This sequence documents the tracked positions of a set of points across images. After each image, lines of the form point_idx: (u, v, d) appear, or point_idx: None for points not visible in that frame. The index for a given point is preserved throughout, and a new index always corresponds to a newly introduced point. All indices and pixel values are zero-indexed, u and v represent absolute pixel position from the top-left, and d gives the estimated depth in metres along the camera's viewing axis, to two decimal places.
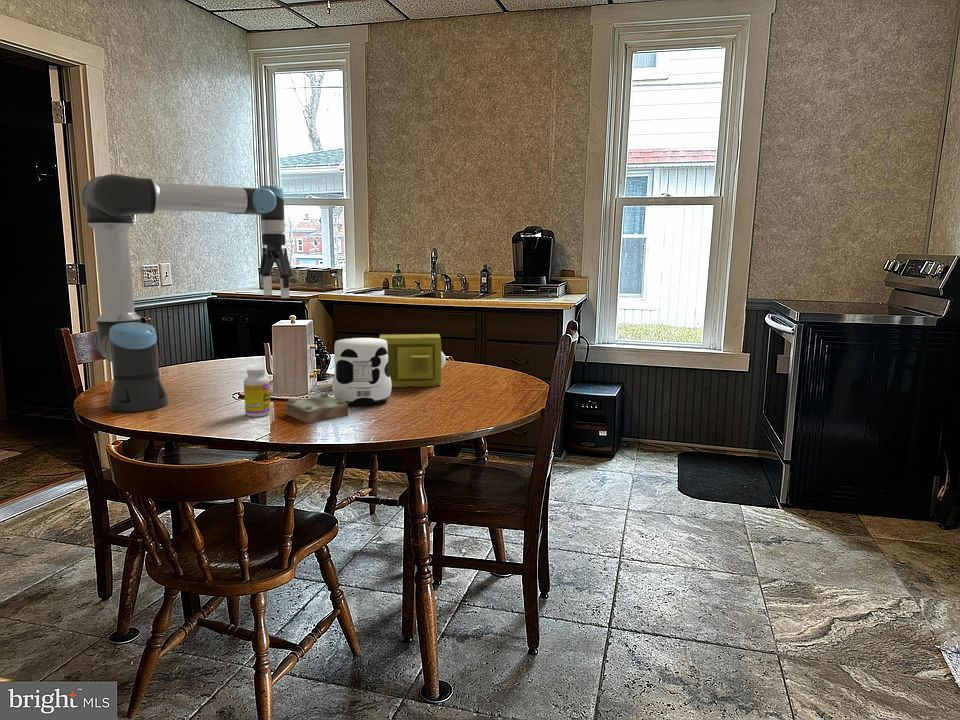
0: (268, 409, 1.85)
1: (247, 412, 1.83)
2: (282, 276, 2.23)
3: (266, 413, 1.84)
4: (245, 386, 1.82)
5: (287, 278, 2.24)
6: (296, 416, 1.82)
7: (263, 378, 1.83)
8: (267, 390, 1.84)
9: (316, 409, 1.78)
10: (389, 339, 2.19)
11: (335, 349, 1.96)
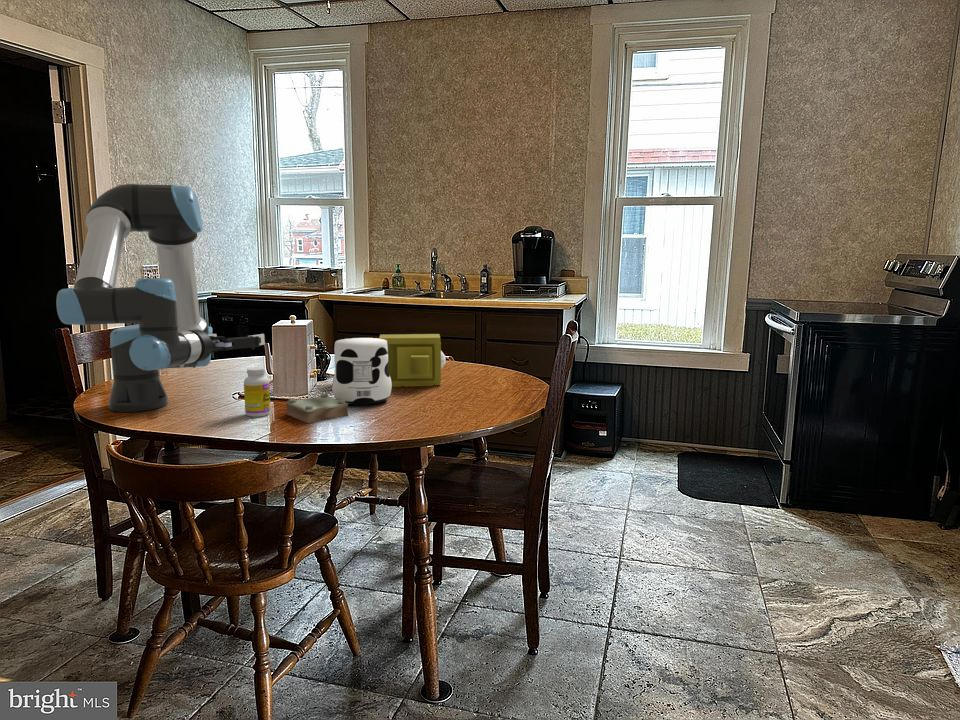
0: (268, 409, 1.85)
1: (247, 412, 1.83)
2: None
3: (266, 413, 1.84)
4: (245, 386, 1.82)
5: None
6: (296, 416, 1.82)
7: (263, 378, 1.83)
8: (267, 390, 1.84)
9: (316, 409, 1.78)
10: (389, 339, 2.19)
11: (335, 349, 1.96)
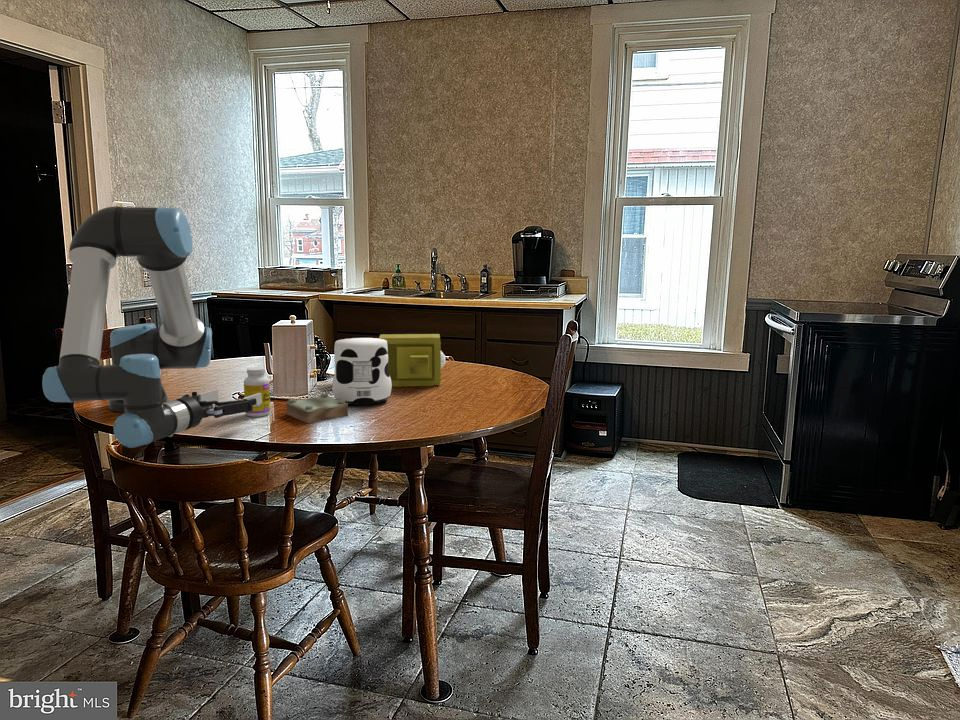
0: (268, 409, 1.85)
1: None
2: None
3: (266, 413, 1.84)
4: (245, 386, 1.82)
5: None
6: (296, 416, 1.82)
7: (263, 378, 1.83)
8: (267, 390, 1.84)
9: (316, 409, 1.78)
10: (388, 339, 2.20)
11: (335, 349, 1.96)
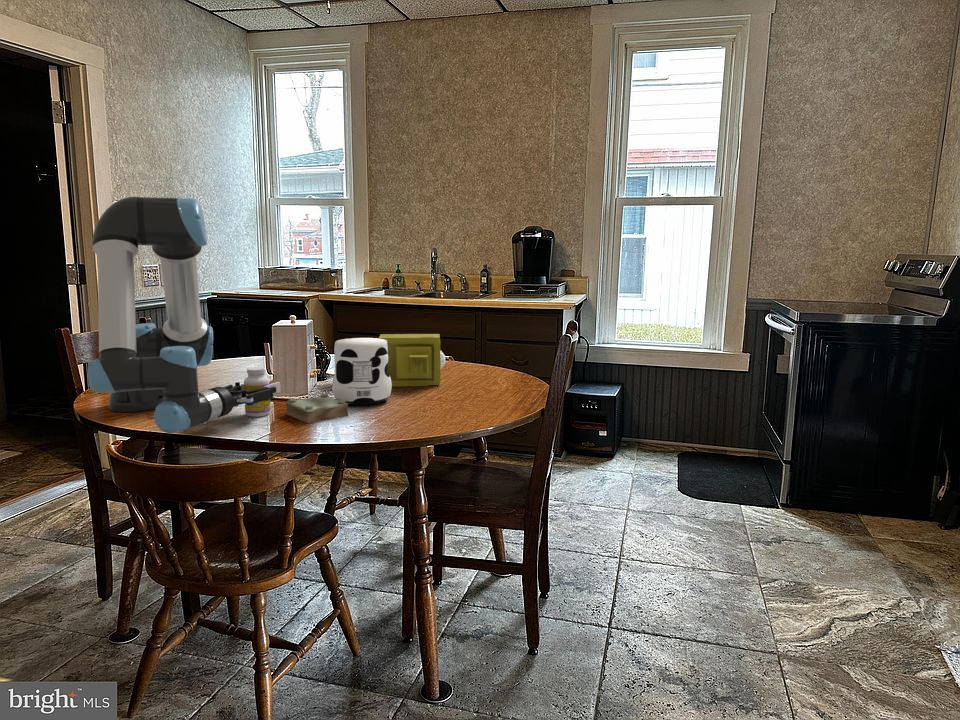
0: (268, 409, 1.85)
1: (247, 412, 1.83)
2: None
3: (266, 413, 1.84)
4: (245, 386, 1.82)
5: None
6: (296, 416, 1.82)
7: (263, 378, 1.83)
8: None
9: (316, 409, 1.78)
10: (388, 339, 2.20)
11: (335, 349, 1.96)
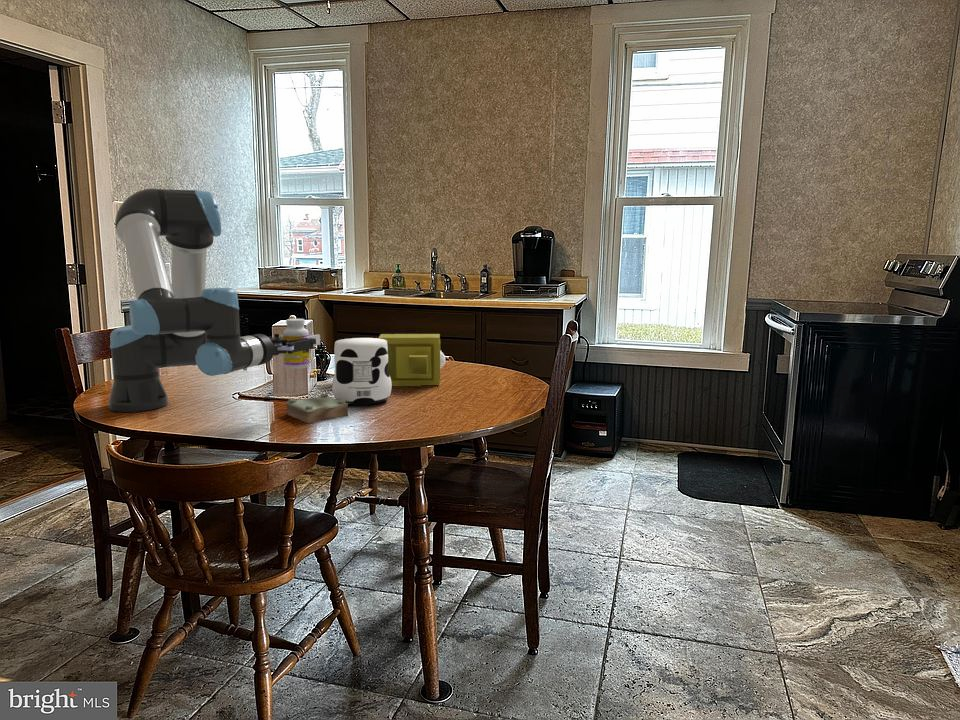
0: (307, 361, 1.80)
1: (286, 364, 1.79)
2: None
3: (305, 365, 1.80)
4: (284, 337, 1.78)
5: None
6: (296, 416, 1.82)
7: (303, 329, 1.79)
8: None
9: (316, 409, 1.78)
10: (388, 338, 2.20)
11: (335, 349, 1.96)
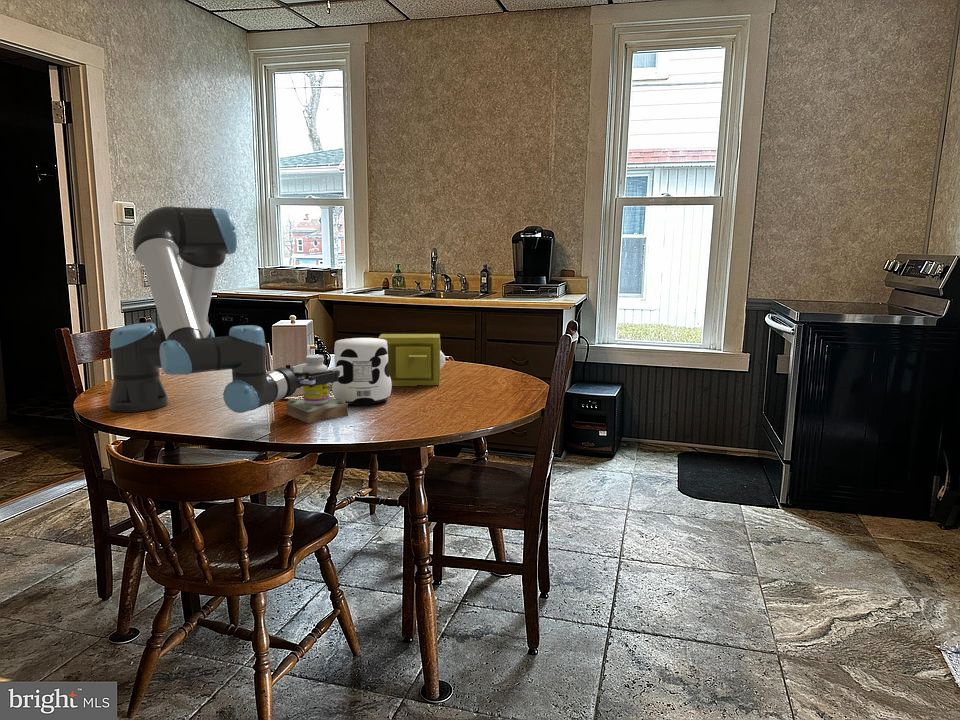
0: (327, 397, 1.84)
1: (306, 400, 1.82)
2: None
3: (325, 401, 1.83)
4: None
5: None
6: (296, 416, 1.82)
7: (322, 366, 1.82)
8: None
9: (316, 409, 1.78)
10: (388, 338, 2.20)
11: (335, 349, 1.96)
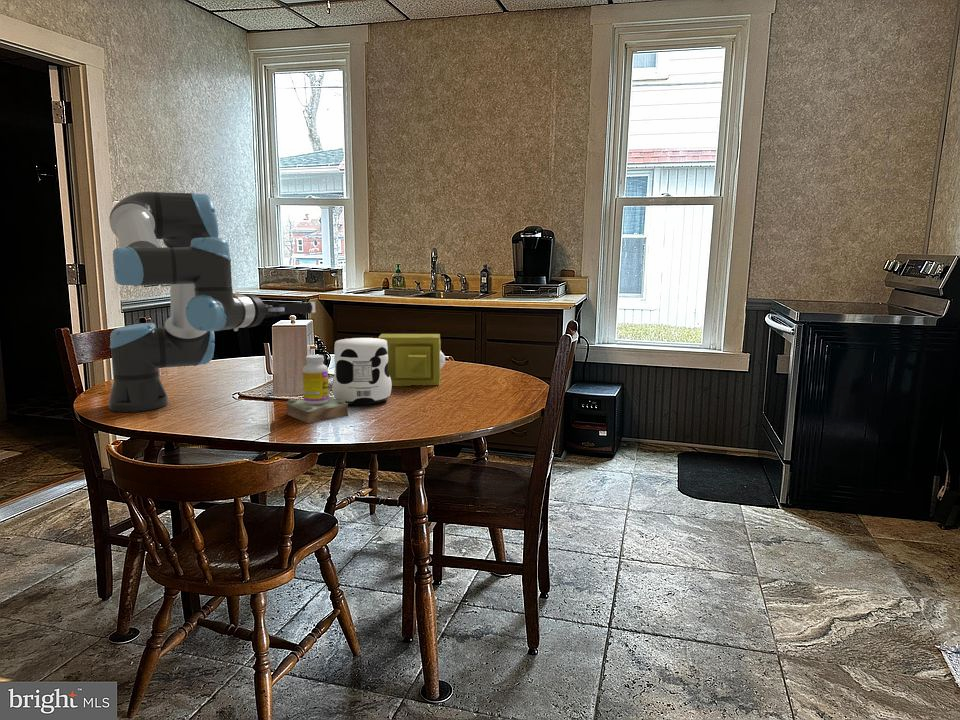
0: (327, 397, 1.84)
1: (306, 400, 1.82)
2: None
3: (325, 401, 1.83)
4: (304, 374, 1.81)
5: None
6: (296, 416, 1.82)
7: (322, 366, 1.82)
8: (326, 378, 1.83)
9: (316, 409, 1.78)
10: (388, 338, 2.21)
11: (335, 349, 1.96)
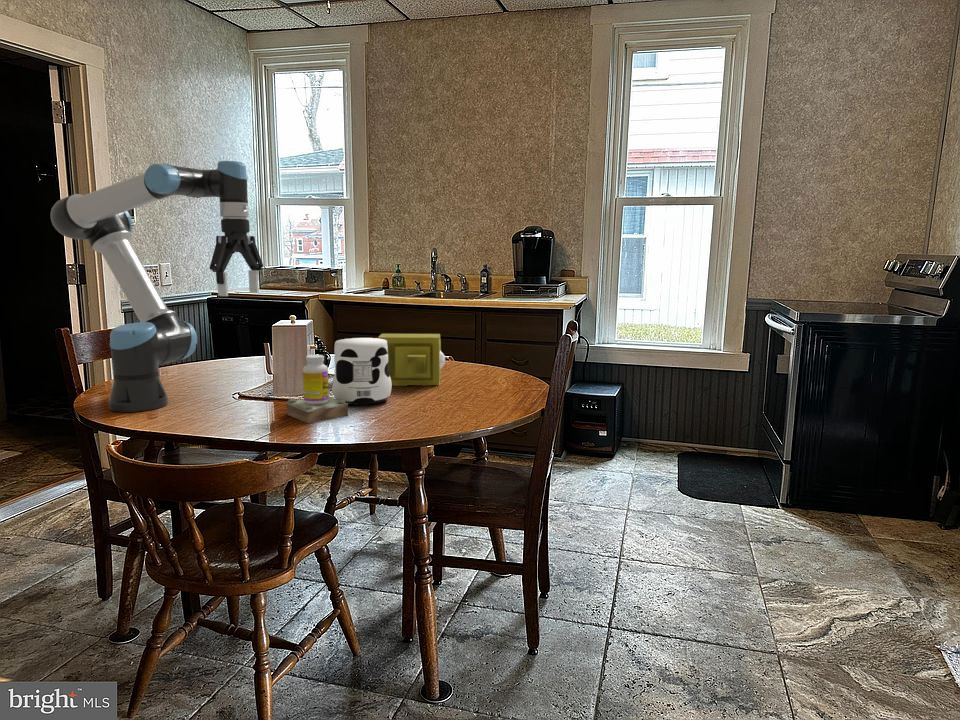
0: (327, 397, 1.84)
1: (306, 400, 1.82)
2: (213, 269, 1.86)
3: (325, 401, 1.83)
4: (304, 374, 1.81)
5: (218, 272, 1.85)
6: (296, 416, 1.82)
7: (322, 366, 1.82)
8: (326, 378, 1.83)
9: (316, 409, 1.78)
10: (387, 338, 2.21)
11: (335, 349, 1.96)
